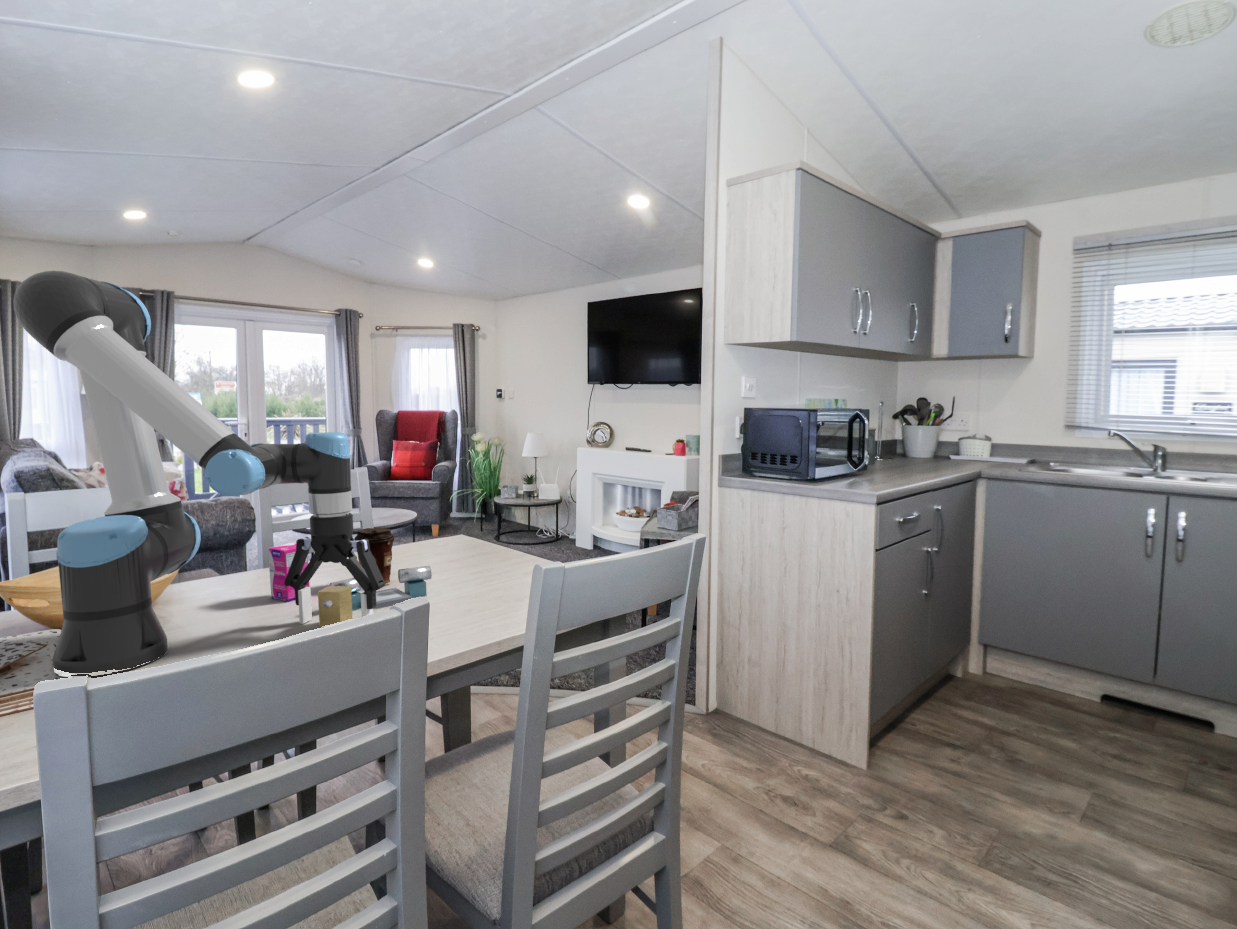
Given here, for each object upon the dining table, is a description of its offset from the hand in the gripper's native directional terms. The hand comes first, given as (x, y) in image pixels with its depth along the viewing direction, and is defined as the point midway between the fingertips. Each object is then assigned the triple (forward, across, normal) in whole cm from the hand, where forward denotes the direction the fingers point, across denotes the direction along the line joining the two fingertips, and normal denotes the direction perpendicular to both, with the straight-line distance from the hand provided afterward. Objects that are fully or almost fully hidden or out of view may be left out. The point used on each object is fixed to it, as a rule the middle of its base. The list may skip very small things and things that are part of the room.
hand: (336, 623), depth 127 cm
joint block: (0, 0, 0) cm, 0 cm away
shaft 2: (0, -6, -21) cm, 22 cm away
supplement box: (0, +20, -14) cm, 25 cm away
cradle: (0, -1, -15) cm, 15 cm away
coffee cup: (0, +7, -27) cm, 28 cm away
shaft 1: (0, +4, -10) cm, 10 cm away
